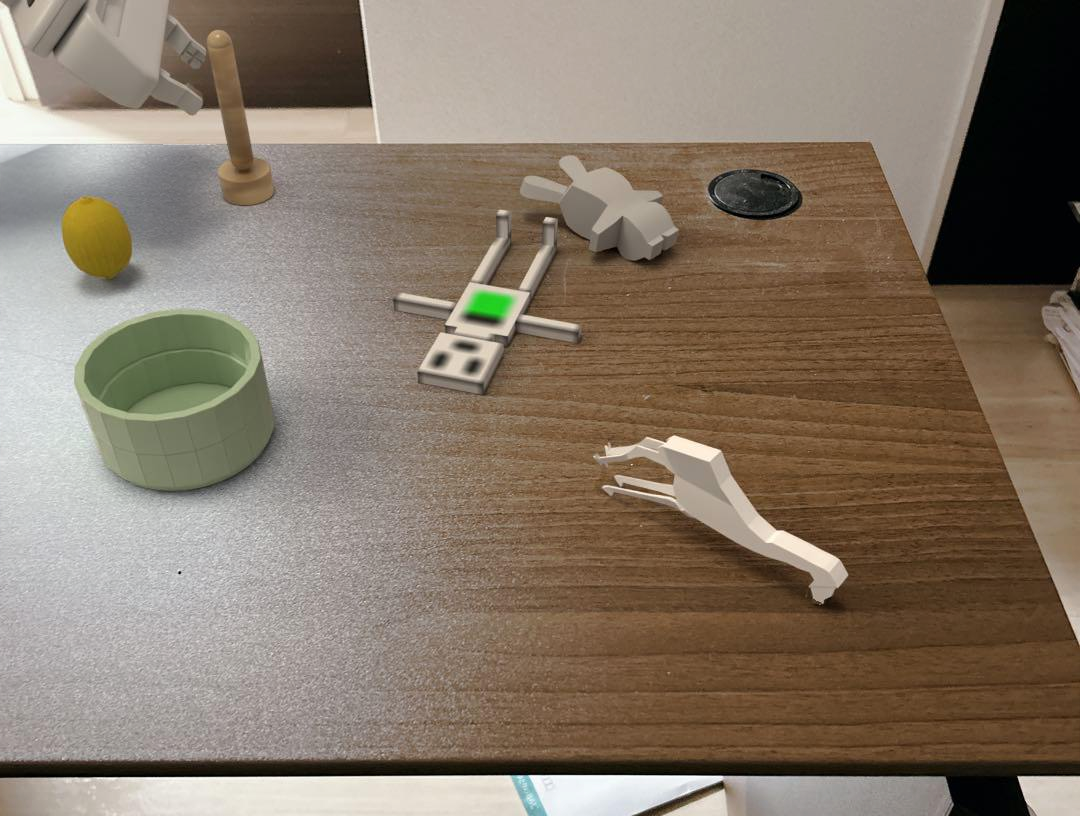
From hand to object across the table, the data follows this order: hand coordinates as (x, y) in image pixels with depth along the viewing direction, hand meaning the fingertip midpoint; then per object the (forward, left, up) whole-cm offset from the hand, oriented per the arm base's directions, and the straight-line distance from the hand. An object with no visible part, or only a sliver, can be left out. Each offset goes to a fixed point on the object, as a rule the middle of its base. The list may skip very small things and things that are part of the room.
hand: (201, 83), depth 103 cm
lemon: (-6, -15, -11) cm, 20 cm away
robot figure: (+28, -17, -11) cm, 35 cm away
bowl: (+7, -35, -11) cm, 38 cm away
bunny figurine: (+37, -3, -11) cm, 39 cm away
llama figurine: (+46, -43, -11) cm, 64 cm away
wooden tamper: (+2, +1, -11) cm, 11 cm away
